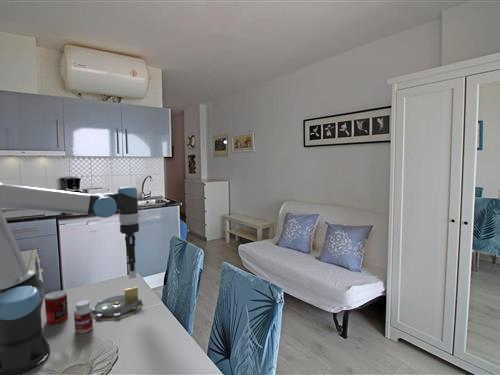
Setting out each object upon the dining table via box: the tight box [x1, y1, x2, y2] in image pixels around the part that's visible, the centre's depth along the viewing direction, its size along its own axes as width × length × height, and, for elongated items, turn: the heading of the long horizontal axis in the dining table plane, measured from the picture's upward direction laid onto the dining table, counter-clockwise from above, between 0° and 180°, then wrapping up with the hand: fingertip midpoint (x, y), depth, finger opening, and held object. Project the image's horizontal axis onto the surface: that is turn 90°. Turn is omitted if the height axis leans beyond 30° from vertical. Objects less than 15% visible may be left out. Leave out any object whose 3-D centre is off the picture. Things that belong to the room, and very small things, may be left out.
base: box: [92, 302, 143, 321], centre depth 131 cm, size 21×21×1 cm
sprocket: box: [92, 286, 143, 319], centre depth 130 cm, size 21×21×8 cm
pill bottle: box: [73, 299, 94, 334], centre depth 114 cm, size 6×6×11 cm
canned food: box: [44, 290, 69, 325], centre depth 121 cm, size 8×8×11 cm
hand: (131, 273), depth 125 cm, fingers open, 10 cm apart
